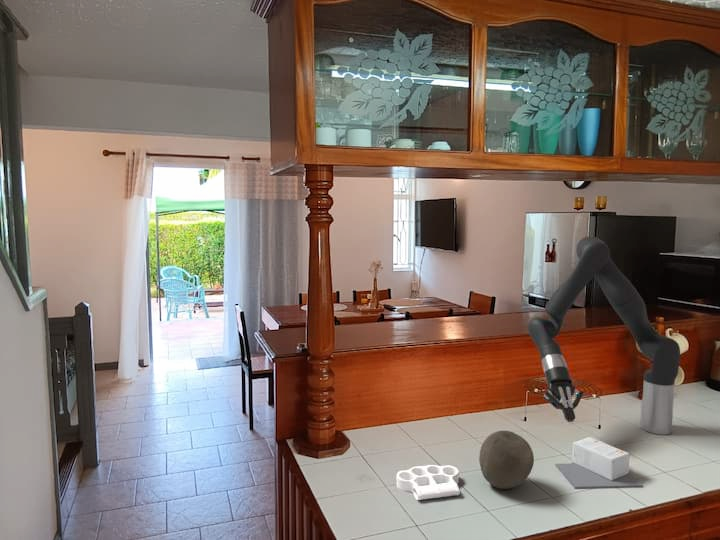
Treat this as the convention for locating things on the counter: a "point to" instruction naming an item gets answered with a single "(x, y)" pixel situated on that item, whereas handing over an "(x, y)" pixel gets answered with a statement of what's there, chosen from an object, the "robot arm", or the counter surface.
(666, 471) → the counter surface
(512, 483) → the cantaloupe
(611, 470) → the small box
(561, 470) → the mat
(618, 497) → the counter surface
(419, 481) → the knuckle duster
